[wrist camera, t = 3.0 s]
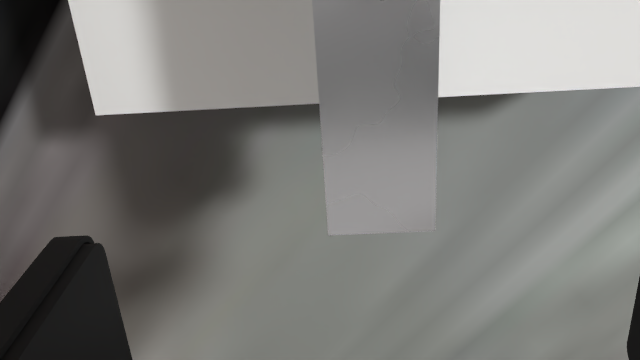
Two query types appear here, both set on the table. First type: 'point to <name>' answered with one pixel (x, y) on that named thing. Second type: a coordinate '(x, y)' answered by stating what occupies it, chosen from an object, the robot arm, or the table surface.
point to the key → (378, 113)
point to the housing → (300, 55)
